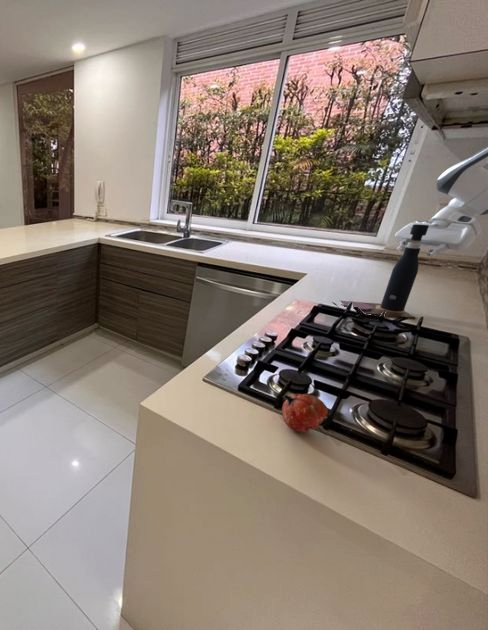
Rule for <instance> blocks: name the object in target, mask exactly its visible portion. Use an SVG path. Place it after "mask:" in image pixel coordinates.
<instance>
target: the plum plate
mask: <svg viewBox="0 0 488 630" xmlns="http://www.w3.org/2000/svg"><path fill="white" fill-rule="evenodd" d="M344 301H345V302H342V304H341V305H342V306H344V307H347V306H348V304H349V303H350V302H353V307H354V306H356V307H358V308H360V309H361V310H362V311H370V310H372V306H370V305H368V304H364V303H365V302H364V303H360V302H361V301H352V300H351V301H350V300H349V301H348V300H347V301H346V300H344Z"/></svg>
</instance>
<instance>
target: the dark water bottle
mask: <svg viewBox="0 0 488 630" xmlns="http://www.w3.org/2000/svg"><path fill="white" fill-rule="evenodd" d="M428 227H429V225H419V224H415V225H413V226H412V229H411V232H410V234H411V235H412V238H411V241H418V242H409V243H408V245H406V246H405V251H404V252H402V253H403V254H402V255H401V257H399V259H398V260H397V262H396V263H395V265H394V266H393V268H392V270H391V274H390V277H389V280H388V282H387V286H386V289H385V292H384V295H383V298H382V300H381V302H380V304H381V306H380V307H381V308H383V309H386V310H391V311H404V310H405V308H406V305H407V303H408V300H409V297H410V294H411V292H412V289H413V287H414V284H415V281H416V278H417V275H418V273H419V265H420V264H419V254H420V251H421V246H422V245H421V243H419V241H421V239H422V236H423V235H426V233H427V230H428Z"/></svg>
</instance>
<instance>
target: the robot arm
mask: <svg viewBox="0 0 488 630" xmlns="http://www.w3.org/2000/svg"><path fill="white" fill-rule="evenodd" d="M487 164H488V146H486V147H484V148H483V149H481V150H479V151H478V152H476V153H474V154H472V155H471V156H469V157H467V158H466V159H464V160H461V161H459V162H458V163H456V164H454V165H452V166H450V167H449V168H446V170H444V171H443V172H442V173H441V174H440V175H439V177H438V178H437V179H436V190H437V192H440V193H442V194H445V195H447V196H450V197H452V199H451V200H450V201H449V202H448V204H447V205H446V206H444V207H443V208H441V209H440V210H439V211H438V212H437V213H436V214H434V215H433V216H432V217H431V218H430V219H429V220H428V221H424V220H423V221H422V220H416V221H413V222H410V223H408V224H406V225H405V226H404V227H402V228H401V229H399V230H398V231H397V232H396V233H395V234H394V238H395V240H396V242H397V243H399V246H397V247H396V251H397V252H398V253H404V251H405V248H406V246H407V245H408V243H409V242H418V241H411V238H412V235H411V234H410V232H411V229H412V226H413V225H415V224H419V225H429V227H428V230H427V233H426V235H423V236H422V239H421V241H419V243H421V245H420V246H423V247H430V248H434V249H429V250H428V251H427V252H426V255H427V257H430V258H434V257H436V255H438V254H441V253H444V252H446V251H447V250H452V251H462V250H465V249H467V248H469V246H470V245H471V244H473V243H474V242H475V240H476V239H477V236H479V235H481V233H482V228H481V225H480V223H479V221H478V219H477V217H478V216H484V215H488V169H486V168H484V166H485V165H487Z"/></svg>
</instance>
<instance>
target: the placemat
mask: <svg viewBox="0 0 488 630" xmlns="http://www.w3.org/2000/svg"><path fill="white" fill-rule="evenodd" d="M340 301H341V302H345V301H346V300H340ZM359 302H360V303H364V304H368V305H370V306H372V310H370V311H363V312H364V313H366V314H371V315H376V316H375V317H381V316H380V315H381V313H382V312H383V311H384V310H386V309H383V308H381V307H380V306H381V303H377V302H365V301H364V302H362V301H359ZM402 316H407V317H408V320H409V319H410V320H415V319H416V316H414V315H413V314H410V313H409V312H407V311H406V310H405V309H404V311H391V310H386V313H385V317H384V318H397V319H400V318H399V317H402Z"/></svg>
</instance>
